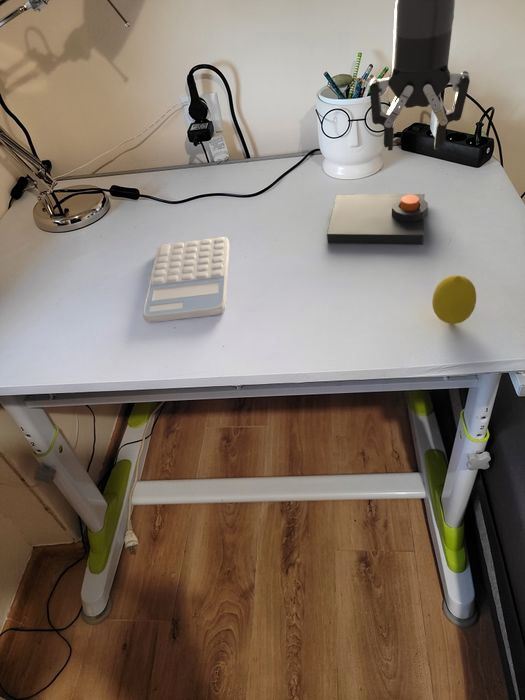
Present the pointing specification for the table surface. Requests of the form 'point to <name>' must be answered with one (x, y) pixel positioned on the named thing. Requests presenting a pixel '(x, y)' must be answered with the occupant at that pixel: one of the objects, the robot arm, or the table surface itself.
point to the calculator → (188, 280)
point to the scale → (376, 220)
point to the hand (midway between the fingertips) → (413, 147)
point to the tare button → (410, 202)
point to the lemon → (454, 299)
